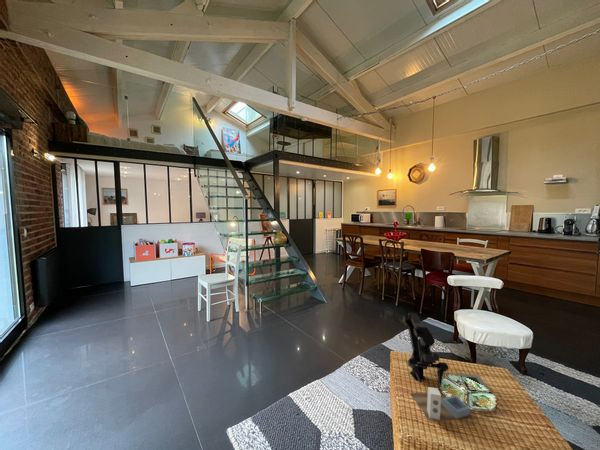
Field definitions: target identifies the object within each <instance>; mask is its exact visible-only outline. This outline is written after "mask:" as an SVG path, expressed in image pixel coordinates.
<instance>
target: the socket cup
mask: <svg viewBox="0 0 600 450" xmlns="http://www.w3.org/2000/svg"><path fill="white" fill-rule="evenodd" d="M443 406H444V407H445V408H446V409H447V410H448V411H449V412H450V413H451V414H452V415H453V416H454V417H455V418H456V419H458V418H461V417H464V416H468V415H471V413H470V412H471V407H470V406H469V405H467V404H466V403H465V402H464V401H463V400H461V398H459V397H458V396H457V395H456V394H454V395H453V396H451V397H447V398H443Z"/></svg>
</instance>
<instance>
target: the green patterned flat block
mask: <svg viewBox="0 0 600 450" xmlns="http://www.w3.org/2000/svg"><path fill="white" fill-rule="evenodd" d="M458 374H459V376H460V377H461V376H463V377H466V378H469V379H471V380H473V381H475V382H477V383H479V384H481V385H484V386H485V387H486V388H488V389H489V390H490V388H489V387H488V386H487V384H486V383H485V382H484V381H483V379H482V378H481V376H480V375H478V374H471V373H462V372H458Z"/></svg>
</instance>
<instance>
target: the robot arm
mask: <svg viewBox="0 0 600 450" xmlns="http://www.w3.org/2000/svg"><path fill="white" fill-rule="evenodd" d="M402 322H403V323H404V327H405V328H406V329H407V330H408V334H409V337H410V345H411V348H412V353H411V356H410V358H408V360H407V361H406V362H407V363H406V364H407V367H410V369H412V370H410V371H409V373H410V375H411V376H412V377H413V379H414V380H416V381H417V380H418V382H419V383H420V384H422V380H426V377H425V375H424V370H428V368H434V369H437V371H436V372H437V379H438V384H439V386H441V387H442V381H443V375H444V373H445V372H447V371H448V370H450V368H449V365H448V363H446V362H440V356H439V354H438V353H432V351H431V347H432V346H433V345H435V338H434V337H433V334H432V332H431V331H430V329H429V328H428V326H426V325H425V324H423V323H422V322H421V320H420V317H419V315H418V313H416V312H415V313H414V312H408V313H407V314H405V315H404V316H403V317H402ZM436 362H438V363H436Z"/></svg>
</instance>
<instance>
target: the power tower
mask: <svg viewBox="0 0 600 450" xmlns="http://www.w3.org/2000/svg"><path fill="white" fill-rule="evenodd" d="M439 391H440V390H439V388H438V387H431V386H428V387H427V392H428V397H427V412H428V415H429V418H432V419H437V420H440V407H441V394H440V392H439Z"/></svg>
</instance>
